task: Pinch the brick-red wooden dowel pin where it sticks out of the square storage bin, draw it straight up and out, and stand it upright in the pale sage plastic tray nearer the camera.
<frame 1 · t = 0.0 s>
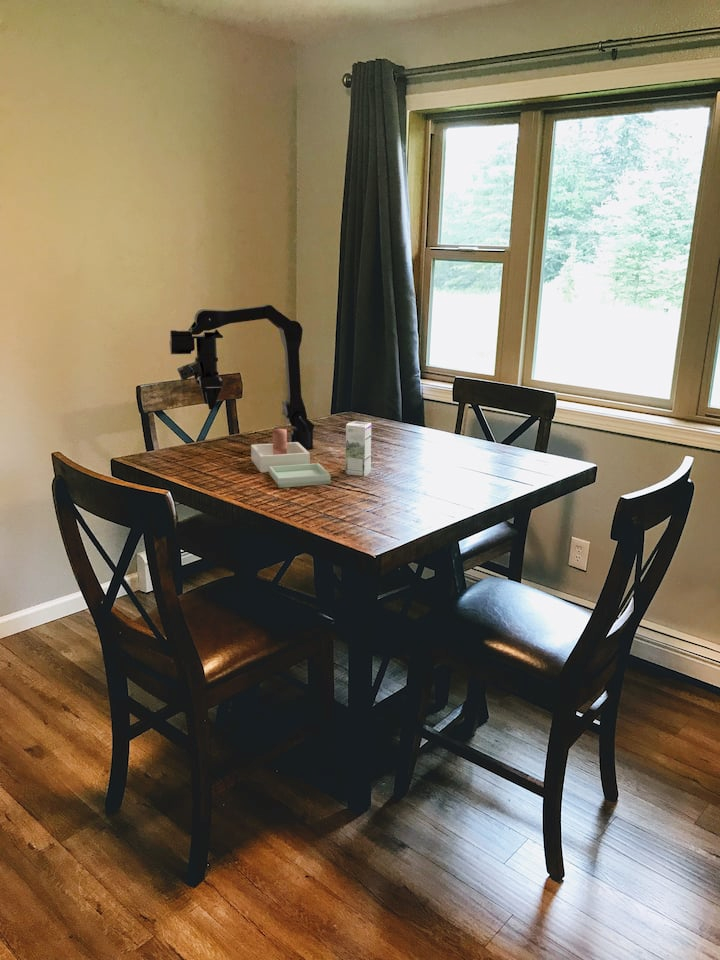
hand: (208, 406, 226), 15 cm above the table, fingers open, 9 cm apart
tray: (299, 479, 206), on the table
square storage bin: (280, 465, 219), on the table
dowel pin: (280, 464, 219), resting on square storage bin
syrup box: (358, 474, 212), on the table
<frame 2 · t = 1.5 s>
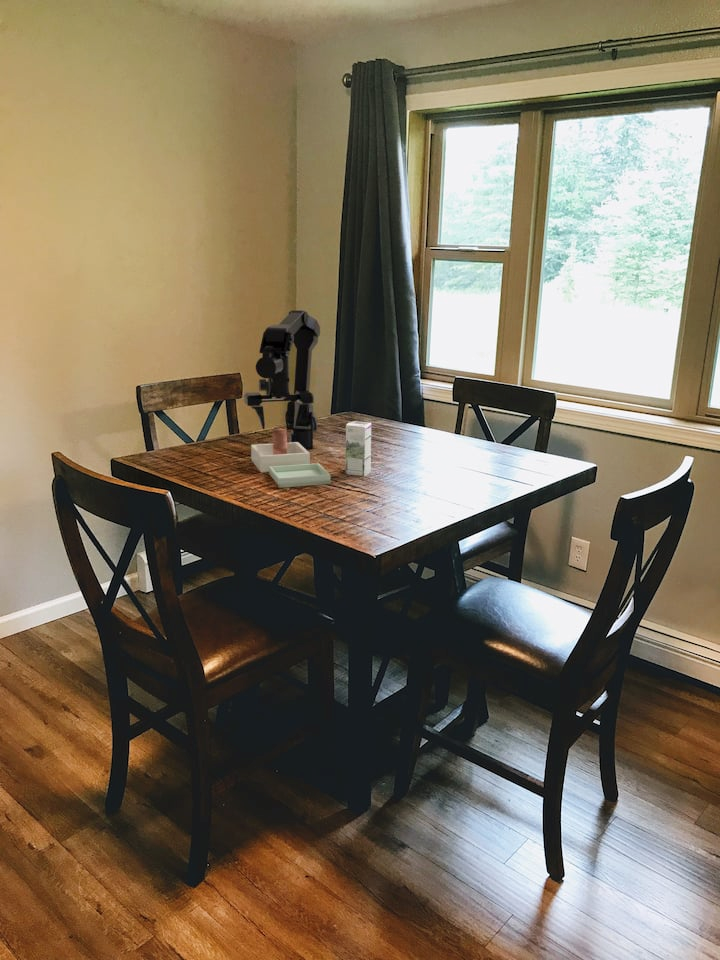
hand: (279, 428, 216), 11 cm above the table, fingers open, 9 cm apart
nothing on the table moved.
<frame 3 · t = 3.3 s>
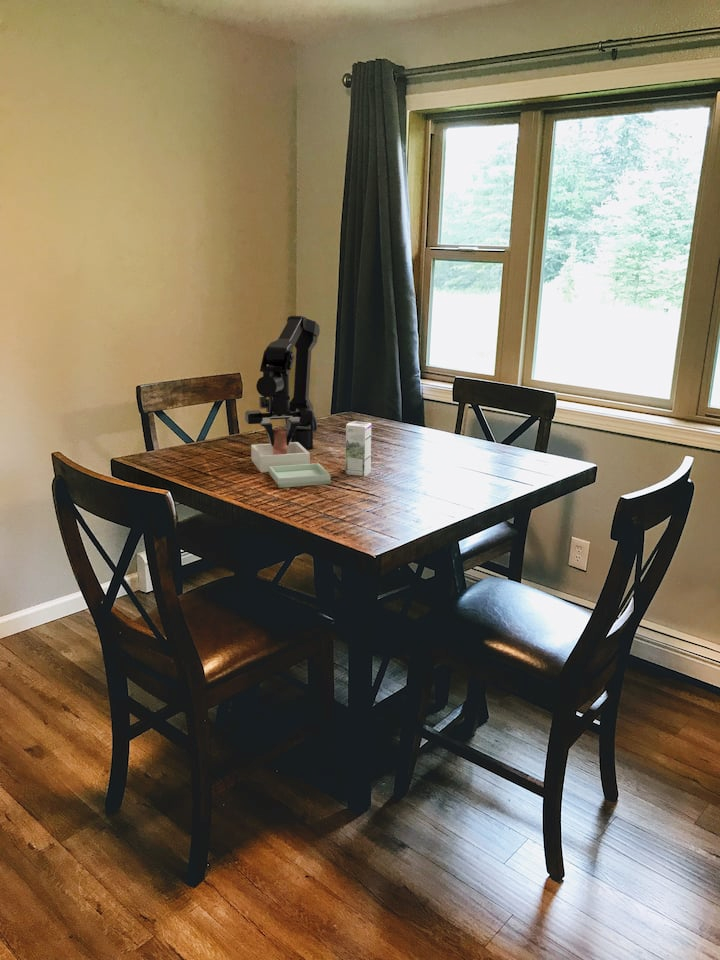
hand: (279, 445, 217), 6 cm above the table, fingers closed on dowel pin, 4 cm apart
dowel pin: (280, 464, 219), resting on square storage bin, touching gripper
everything else where it was.
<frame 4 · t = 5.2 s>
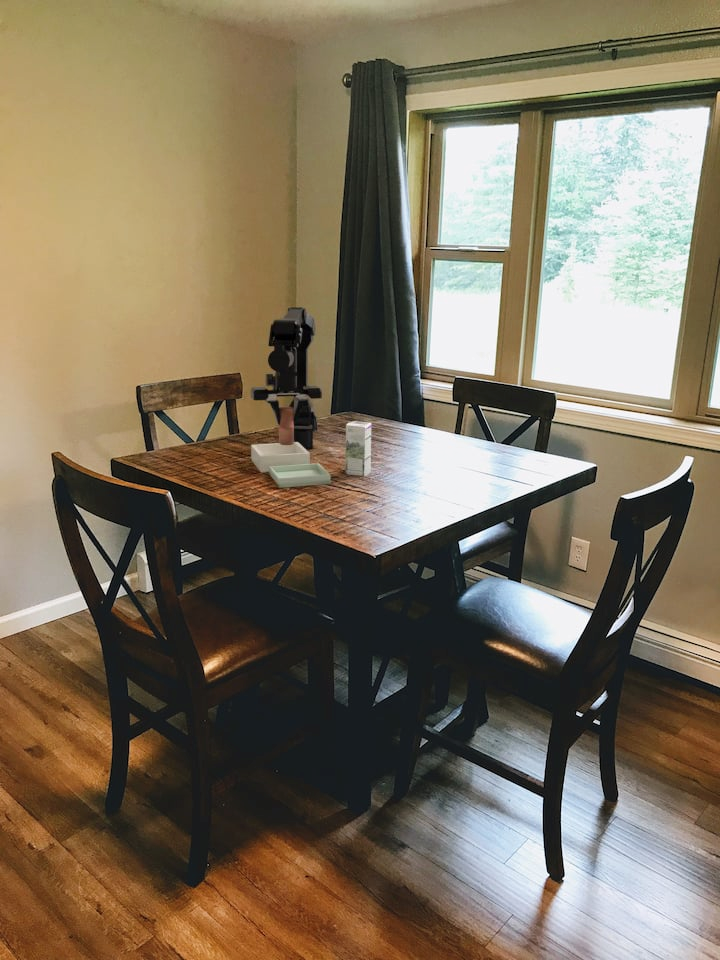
hand: (286, 424, 209), 14 cm above the table, fingers closed on dowel pin, 4 cm apart
dowel pin: (286, 443, 211), point 8 cm above the table, touching gripper
everything else where it was.
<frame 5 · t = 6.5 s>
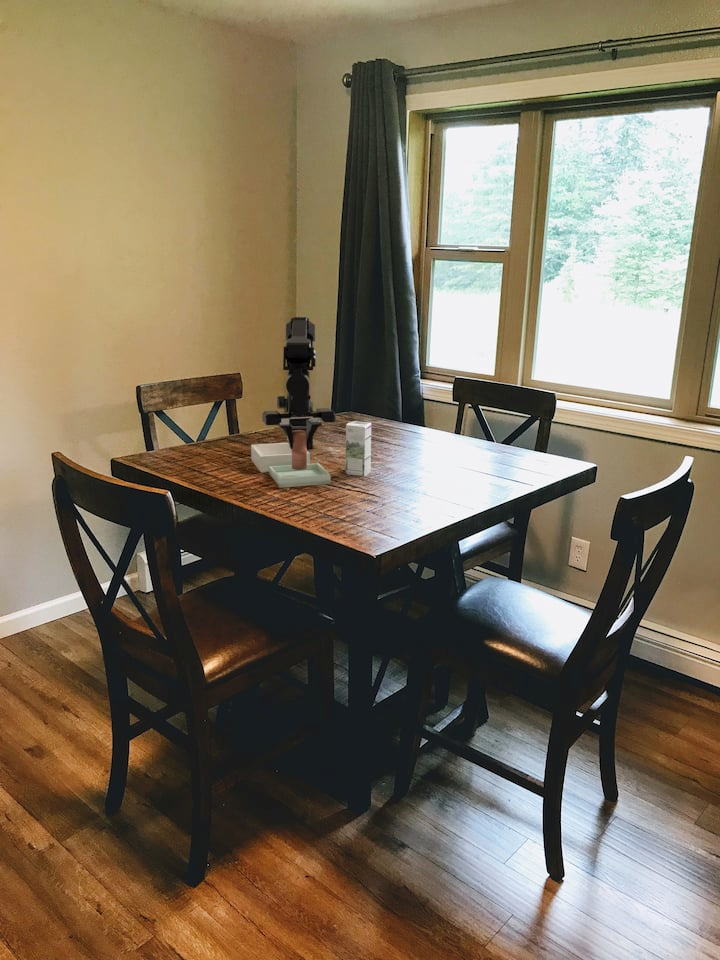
hand: (299, 448, 203), 9 cm above the table, fingers closed on dowel pin, 4 cm apart
dowel pin: (299, 467, 205), point 3 cm above the table, touching gripper
everything else where it was.
when the fingers open (8 cm above the table, at t = 7.3 s): dowel pin drops 1 cm, resting on tray.
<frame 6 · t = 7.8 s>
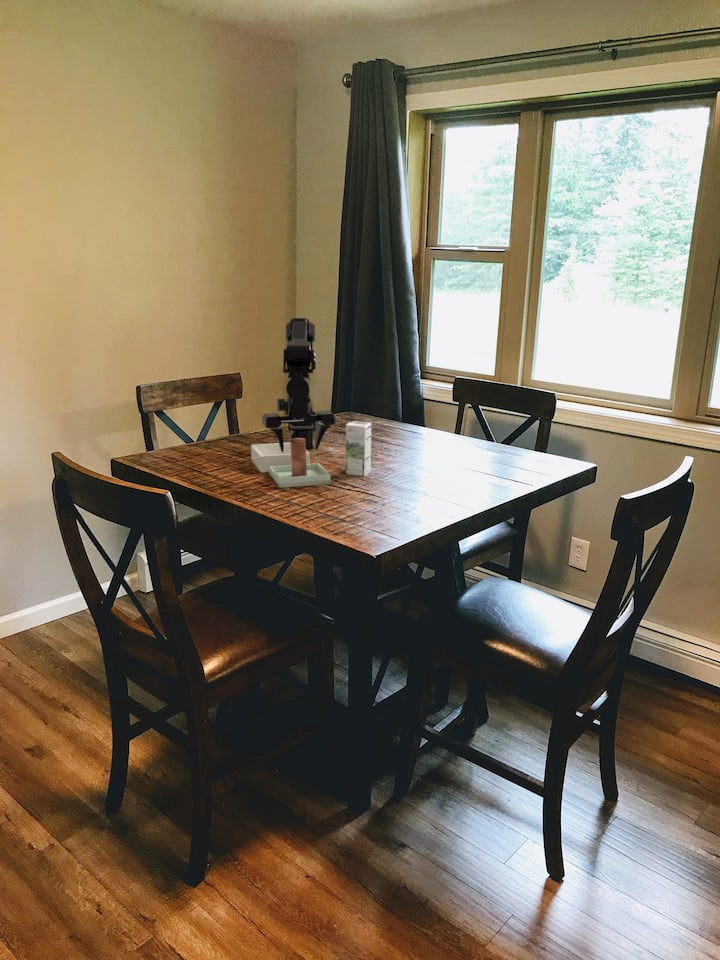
hand: (299, 450, 203), 8 cm above the table, fingers open, 9 cm apart
dowel pin: (299, 475, 205), point 1 cm above the table, touching tray
everything else where it was.
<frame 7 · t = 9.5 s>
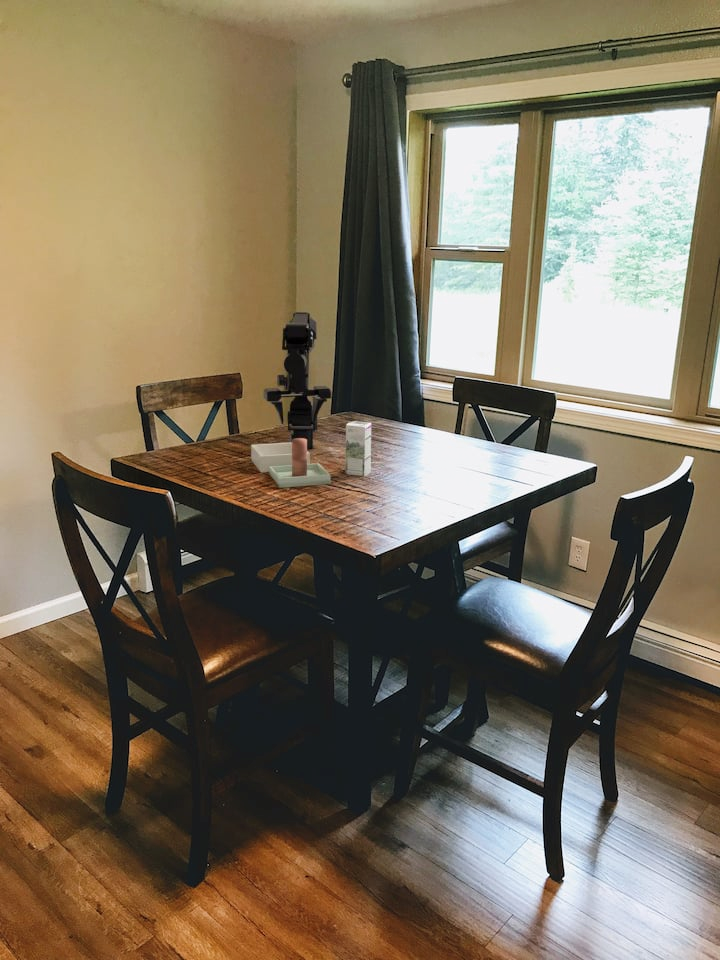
hand: (297, 422, 220), 12 cm above the table, fingers open, 9 cm apart
nothing on the table moved.
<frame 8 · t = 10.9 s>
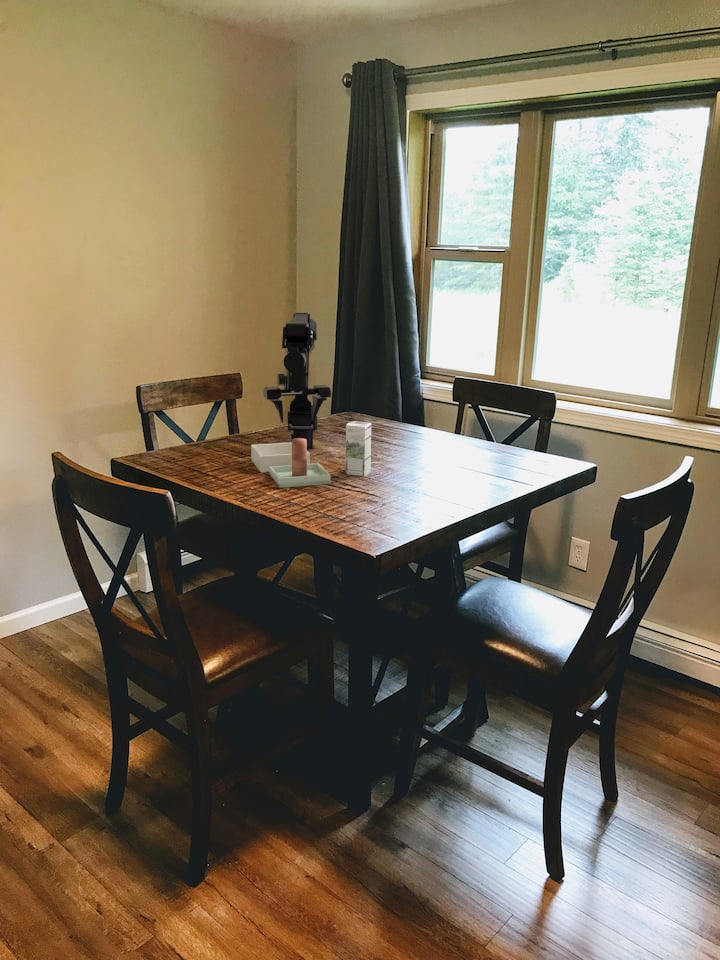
hand: (297, 421, 220), 12 cm above the table, fingers open, 9 cm apart
nothing on the table moved.
at the end: dowel pin inside the target area on the tray (0.0 cm from its centre), point 1.0 cm above the tray's base; dowel pin tilted 0°; the gripper is holding nothing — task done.
